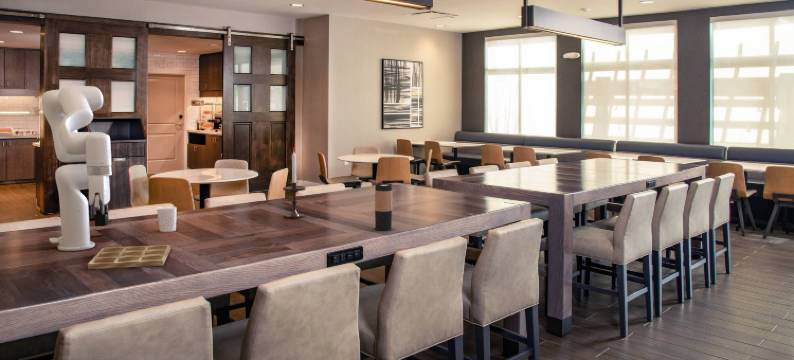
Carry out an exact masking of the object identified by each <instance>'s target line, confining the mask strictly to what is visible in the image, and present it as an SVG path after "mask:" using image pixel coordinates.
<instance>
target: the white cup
mask: <svg viewBox="0 0 794 360" xmlns="http://www.w3.org/2000/svg"><path fill="white" fill-rule="evenodd" d="M177 210H178V209H177V206H174V205H167V206H166V205H165V206H159V207H157V208H156V211H157V222H158V230H159V232H160V233H172V232H175V231H176V230H177V218H178V216H177V215H178V214H177Z"/></svg>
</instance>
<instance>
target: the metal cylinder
mask: <svg viewBox="0 0 794 360" xmlns="http://www.w3.org/2000/svg"><path fill="white" fill-rule="evenodd" d="M108 217H109V213H108V214H105V218H106V225H105V226H104V227H107V226H109V223H108Z"/></svg>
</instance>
